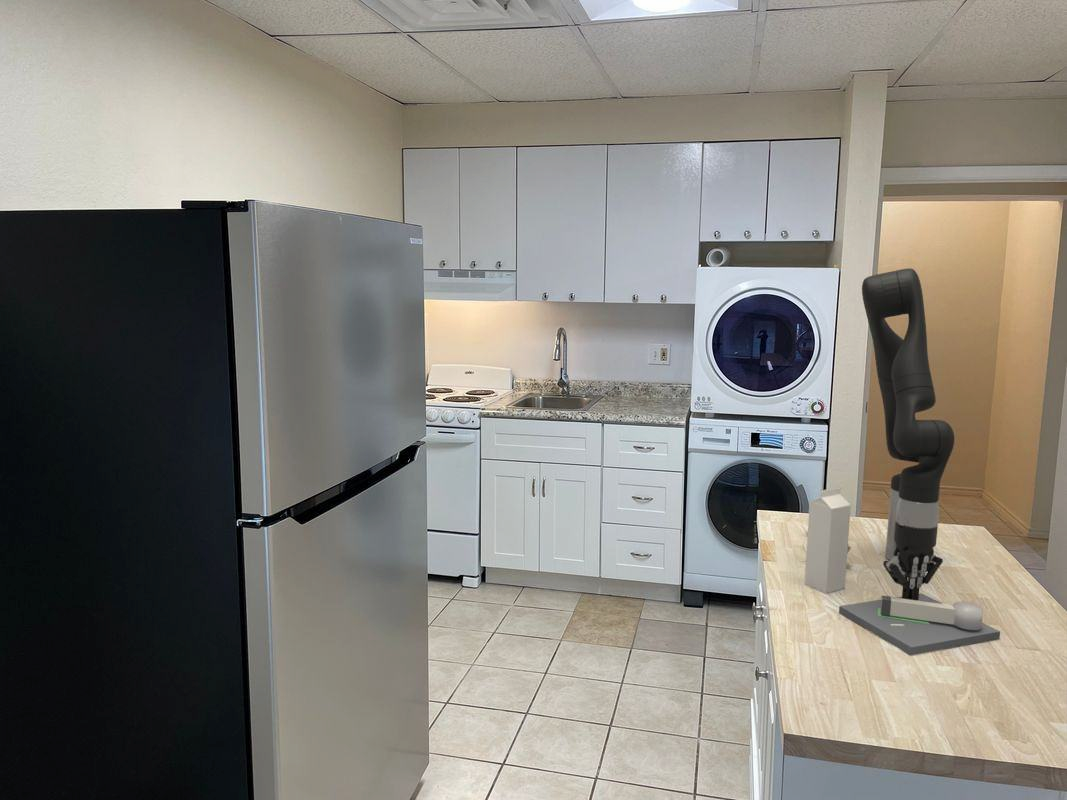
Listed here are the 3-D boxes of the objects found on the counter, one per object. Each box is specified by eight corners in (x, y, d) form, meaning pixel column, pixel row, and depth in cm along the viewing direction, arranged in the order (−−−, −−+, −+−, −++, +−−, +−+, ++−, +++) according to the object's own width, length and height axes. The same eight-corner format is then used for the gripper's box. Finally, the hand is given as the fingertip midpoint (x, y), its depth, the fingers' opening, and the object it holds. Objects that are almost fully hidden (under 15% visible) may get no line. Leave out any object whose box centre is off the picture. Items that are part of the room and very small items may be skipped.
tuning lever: (979, 621, 154) (981, 603, 153) (983, 632, 149) (985, 614, 149) (880, 607, 160) (881, 590, 159) (881, 617, 155) (882, 599, 155)
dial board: (921, 600, 169) (921, 592, 168) (999, 638, 151) (1000, 630, 151) (838, 613, 162) (839, 605, 162) (910, 655, 144) (911, 646, 144)
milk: (844, 588, 174) (852, 490, 171) (825, 594, 172) (833, 494, 168) (822, 579, 180) (829, 484, 176) (803, 584, 177) (810, 487, 173)
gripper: (928, 512, 162) (921, 593, 165) (875, 518, 158) (868, 601, 161) (958, 523, 155) (950, 607, 158) (903, 529, 151) (896, 616, 154)
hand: (909, 604), depth 160 cm, fingers closed
